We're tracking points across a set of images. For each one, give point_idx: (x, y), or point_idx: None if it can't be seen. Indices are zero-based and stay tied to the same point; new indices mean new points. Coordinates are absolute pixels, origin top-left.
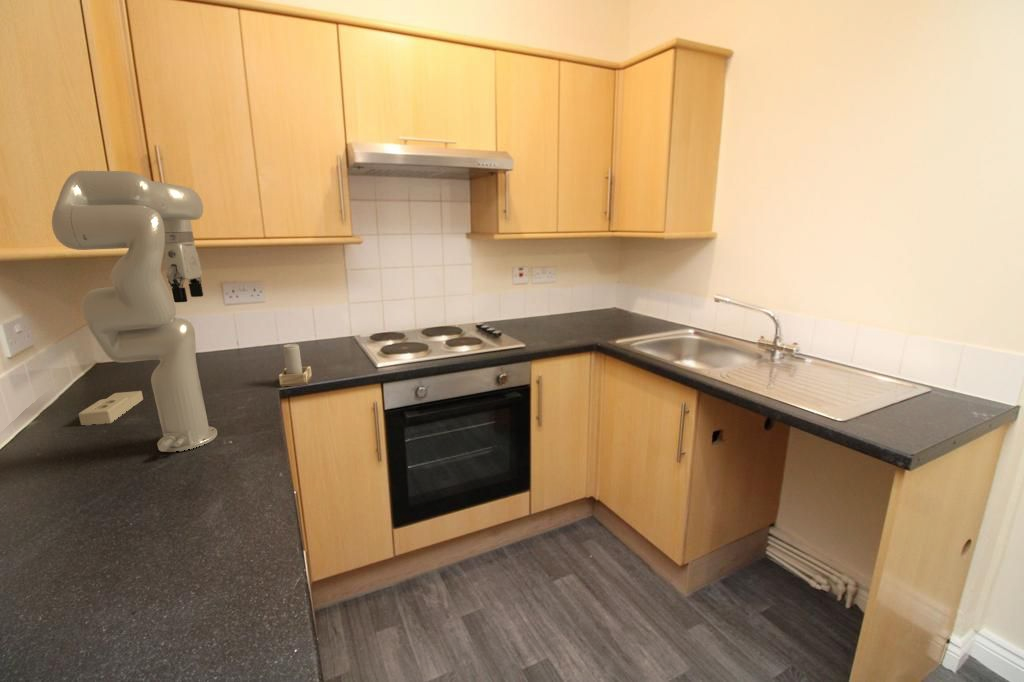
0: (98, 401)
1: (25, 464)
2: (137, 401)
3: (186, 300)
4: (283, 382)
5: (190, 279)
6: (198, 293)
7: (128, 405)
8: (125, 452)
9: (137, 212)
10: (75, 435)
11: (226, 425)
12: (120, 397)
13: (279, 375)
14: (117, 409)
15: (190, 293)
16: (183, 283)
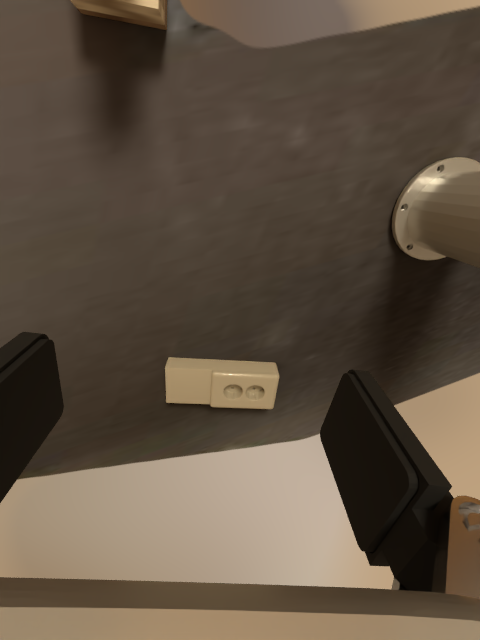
0: (223, 405)
1: None
2: (188, 360)
3: (370, 374)
4: (164, 6)
5: (406, 593)
6: (39, 376)
7: (218, 364)
8: (421, 300)
9: None
10: (308, 387)
11: (399, 150)
12: (195, 386)
13: (152, 6)
14: (253, 369)
15: (43, 436)
16: (457, 559)
